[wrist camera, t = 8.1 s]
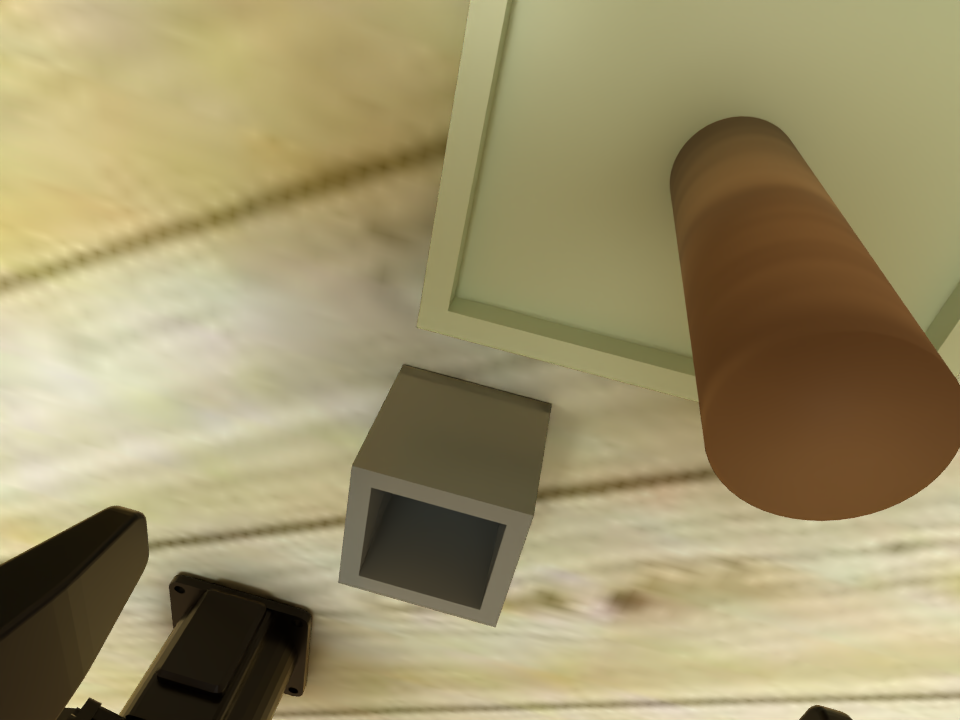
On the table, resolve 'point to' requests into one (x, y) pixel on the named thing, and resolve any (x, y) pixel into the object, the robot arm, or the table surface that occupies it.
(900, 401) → the dowel
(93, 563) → the robot arm
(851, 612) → the table surface
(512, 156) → the tray
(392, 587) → the pen cup
